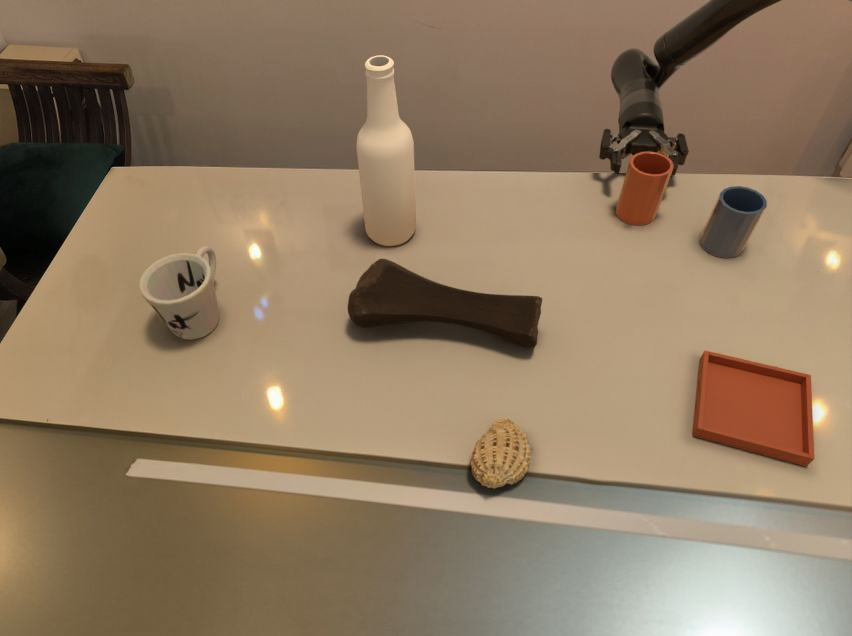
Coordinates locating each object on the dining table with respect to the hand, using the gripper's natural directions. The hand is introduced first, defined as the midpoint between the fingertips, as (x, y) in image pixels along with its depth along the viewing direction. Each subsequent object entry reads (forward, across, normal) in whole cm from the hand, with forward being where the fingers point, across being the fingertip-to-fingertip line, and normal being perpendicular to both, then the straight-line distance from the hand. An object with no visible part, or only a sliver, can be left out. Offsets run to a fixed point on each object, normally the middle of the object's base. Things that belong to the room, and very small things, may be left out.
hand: (644, 171), depth 103 cm
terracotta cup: (+4, 0, +6) cm, 7 cm away
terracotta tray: (+42, +13, +6) cm, 44 cm away
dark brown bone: (+33, -29, +6) cm, 45 cm away
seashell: (+55, -18, +6) cm, 59 cm away
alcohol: (+14, -41, +6) cm, 44 cm away
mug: (+38, -67, +6) cm, 77 cm away
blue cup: (+10, +13, +6) cm, 17 cm away
